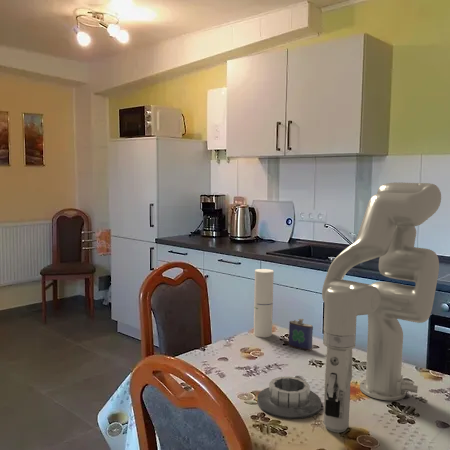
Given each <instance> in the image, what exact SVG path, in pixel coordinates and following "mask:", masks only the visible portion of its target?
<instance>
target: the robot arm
mask: <svg viewBox="0 0 450 450" xmlns="http://www.w3.org/2000/svg"><path fill="white" fill-rule="evenodd" d="M441 202H442V192H441V189H440V188H439V187H438V186H437V185H436V184H434V183H429V182H428V183H427V182H386V183H384V184H381V185H380V186H379V188H378V189H377V193H375V194H374V195H372V196H371V197H370V199H369V201H368V202H367V206H366V209H365V210H364V211H365V212H364V215H363V216H362V221H361V223H360V227H359V230H358V232H357V237H356V239H355V241H354V242H353V243H352V244H350V245H349V246H347V247H345V248H344V249H343V250H342V251H341V252H339V254H338V255H337V256H336V257H335V258H334V259H333V260H332V262H331V264H330V265H329V267H328V270H327V272H326V276H325V278H324V282H323V285H322V290H321V291H322V292H321V298H322V301H323V303H324V309H323V312H324V313H323V317H324V318H323V335H322V340H323V341H322V344H323V345H324V347H326V354H325V356H326V358H325V371H324V372H325V373H324V387H325V386H326V388H328V389H327V395H326V408H325V414H326V415H327V416H332V417H336V418H338V417H339V415H340V401H339V395H340V390H342V391H343V392H345V391H346V390H347V388H348V386H349V377H350V375H351V381H352V380H353V349H355V347H356V339H357V338H356V337H357V336H356V334H357V317H359V316H366V315H367V345H366V346H367V347H366V363H365V364H366V366H365V368H366V369H365V371H366V372H365V379H364V380H361V382H359V390H360V391H361V392H362V393H363V394H364V395H366V396H368V397H370V398H373V399H376V400H380V401H381V400H382V401H388V402H389V401H391V402H393V401H399V400H402V399H404V398H405V397H406V396H407V392H410V393H416V394H418V391H419V390H418V388H419V387H418V386H419V385H415V384H414V382H412V381H406V380H405V379H404V375H402V366H403V347H404V345H403V344H404V330H403V328H402V325H401V323H400V322H399V320H401V321H402V320H403V321H405V322H412V323H417V324H420V323H421V324H422V323H425V322H427V321H428V320H429V318H430V316H431V314H432V311H433V307H434V306H433V305H434V302H435V301H434V300H435V294H436V289H437V283H438V277H439V273H440V261H439V257H438V255H437V253H436V252H435V251H434V250H432V249H430V248H424V247H415V245H416V244H415V243H416V238H417V237H416V236H417V229H416V227H418V226H420V225H422V224H424V223H425V222H426V221H427V220H429V219H430V218H431V217H432V216H434V214H436V212H437V211H438V209H439V208H440V205H441ZM377 258H379V259H378V271H379V273H380V275H382V276H384V277H386V278H389V279H395V280H400V281H407V282H413V283H415V285H407V284H402V283H397V282H391V281H375V282H372V283H371V284H369V283H364V282H359V281H352V280H347V279H344V278H345V276H346V274H347V273H348V272H349V271H350V270H351V269H352V268H353V267H355V266H357V265H360V264H361V263H365V262H368V261H371V260H375V259H377ZM349 374H350V375H349ZM335 385H337V386H338V387H335ZM334 391H337V394H335V393H334Z"/></svg>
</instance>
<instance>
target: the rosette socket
mask: <svg viewBox="0 0 450 450" xmlns="http://www.w3.org/2000/svg"><path fill="white" fill-rule="evenodd" d="M310 386H311V385H310V384H309V383H308V382H307V381H306V380H304V379H302V378H300V377H295V376H279V377H276V378H275V377H274V378H273V379H271V380H270V382H269V387H265V388H263V389H262V390H261V391H260V392H258V394H257V397H256V399H257V401H256V402H257V403H256V404H257V406H258V407H259V409H260V410H262V411H263V412H265V413H266V414H268V415H270V416H272V417H277V418H280V419H286V420H301V419H306V418H307V419H308V418H310V417H313V416H315V415H317V414H318V413H320V411H321V409H322V399H321V398H320V396H319V395H318V394H316V393H315V392H314V391H312V390H310V388H311V387H310Z"/></svg>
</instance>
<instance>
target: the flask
mask: <svg viewBox="0 0 450 450" xmlns="http://www.w3.org/2000/svg"><path fill="white" fill-rule="evenodd" d="M297 319H298V320H296V319H294V320H290V321H289V328H288V346H289V347H291V348H293V349H298V350H302V351H306V352H307V351H308V352H312V350H313V334H314V331H313V330H314V327H313V324H308V323H303V321H304V319H303V318H297Z"/></svg>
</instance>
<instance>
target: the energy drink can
mask: <svg viewBox="0 0 450 450" xmlns="http://www.w3.org/2000/svg"><path fill="white" fill-rule="evenodd" d="M349 375H350V374H349ZM351 381H352V380H351V375H350V377H349V386H348V388H347V390H346V391H345V392H343V391H342V390H340V395H339V401H340V415H339V417H338V418H336V417H332V416H327V415H326V414H325V408H326V395H327V389H328V388H326V386H325V385H324V393H323V394H324V395H323V397H324V399H323V424H324V426H325V429H327V430H328V431H330V432H333V433H343V432H345V431H346V430H347V428H349V425H350V405H351V404H350V403H351V401H350V400H351ZM335 387H338V386H337V385H335ZM334 393H335V394H337V391H334Z"/></svg>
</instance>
